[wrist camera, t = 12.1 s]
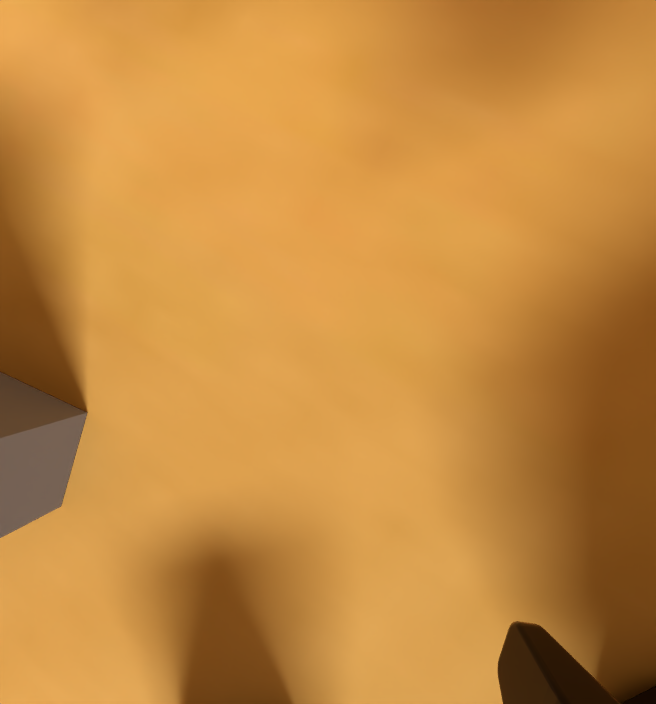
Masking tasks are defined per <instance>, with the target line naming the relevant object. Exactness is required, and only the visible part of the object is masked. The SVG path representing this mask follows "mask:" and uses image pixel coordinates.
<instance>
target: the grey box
mask: <svg viewBox="0 0 656 704" xmlns="http://www.w3.org/2000/svg"><path fill="white" fill-rule="evenodd" d="M86 415H87V412H85V411H83V410H80V409H78V408H76V407H74V406H72V405H70V404H68V403H66V402H63V401H61V400H59V399H57V398H55V397H53V396H51V395H48V394H46V393H44V392H42V391H40V390H38V389H36V388H33V387H31V386H29V385H27V384H25V383H23V382H21V381H19V380H16V379H14V378H12V377H10V376H8V375H6V374H4V373H1V372H0V538H1V537H3V536H5V535H7V534H9V533H11V532H13V531H15V530H17V529H18V528H20V527H22V526H24V525H26V524H28V523H30V522H32V521H34V520H36V519H38V518H40V517H42V516H43V515H45V514H47V513H49V512H51V511H53V510H55V509H57V508H59V507H61V504H62V501H63V497H64V494H65V490H66V487H67V483H68V480H69V476H70V472H71V469H72V465H73V462H74V458H75V455H76V451H77V447H78V444H79V440H80V437H81V433H82V430H83V426H84V423H85V419H86Z"/></svg>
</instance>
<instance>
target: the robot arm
mask: <svg viewBox="0 0 656 704" xmlns="http://www.w3.org/2000/svg"><path fill="white" fill-rule="evenodd" d="M498 678H499V684H500V690H501V695H502V700H503V704H620V703H619V702H618V701H617V700H616V699H615V698H614V697H613V696H612V695H611V694H610V693H609V692H608V691H607V690H606V689H605V688H604V687H603V686H602V685H601V684H600V683H599V682H598V681H597V680H596V679H595V678H594V677H593V676H592V675H591V674H589V673H588V672H587V671H586V670H585V669H584V668H583V667H582V666H581V665H580V664H579V663H578V662H577V661H576V660H575V659H574V658H573V657H572V656H571V655H570V654H569V653H568V652H567V651H566V650H565V649H564V648H563V647H562V646H561V645H560V644H559V643H558V642H557V641H556V640H555V639H554V638H553V637H552V636H551V635H550V634H549V633H548V632H547V631H546V630H545V629H543V628H542V627H541V626H539V625H537V624H532V623H525V622H518V621H517V622H513V623H512V624H511V625H510V627H509V630H508V633H507V636H506V639H505V642H504V645H503V648H502V651H501V654H500V657H499V661H498ZM621 704H656V686H655V687H653V688H651V689H649V690H647V691H645V692H643V693H641V694H639V695H637V696H635V697H633V698H631V699H629V700H627V701H625V702H623V703H621Z"/></svg>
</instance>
